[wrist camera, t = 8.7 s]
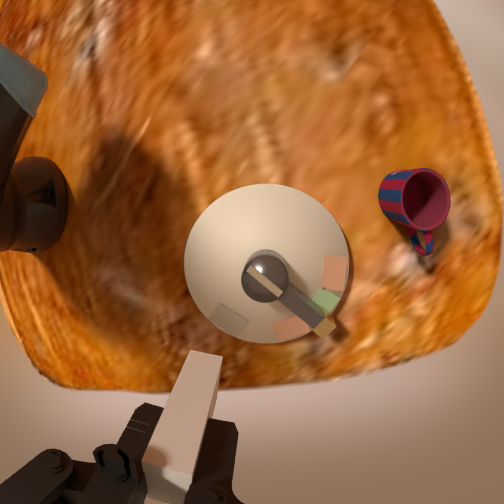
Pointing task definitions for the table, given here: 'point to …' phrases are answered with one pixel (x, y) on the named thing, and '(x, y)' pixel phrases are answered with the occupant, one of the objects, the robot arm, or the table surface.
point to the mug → (416, 202)
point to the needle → (282, 290)
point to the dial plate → (258, 238)
